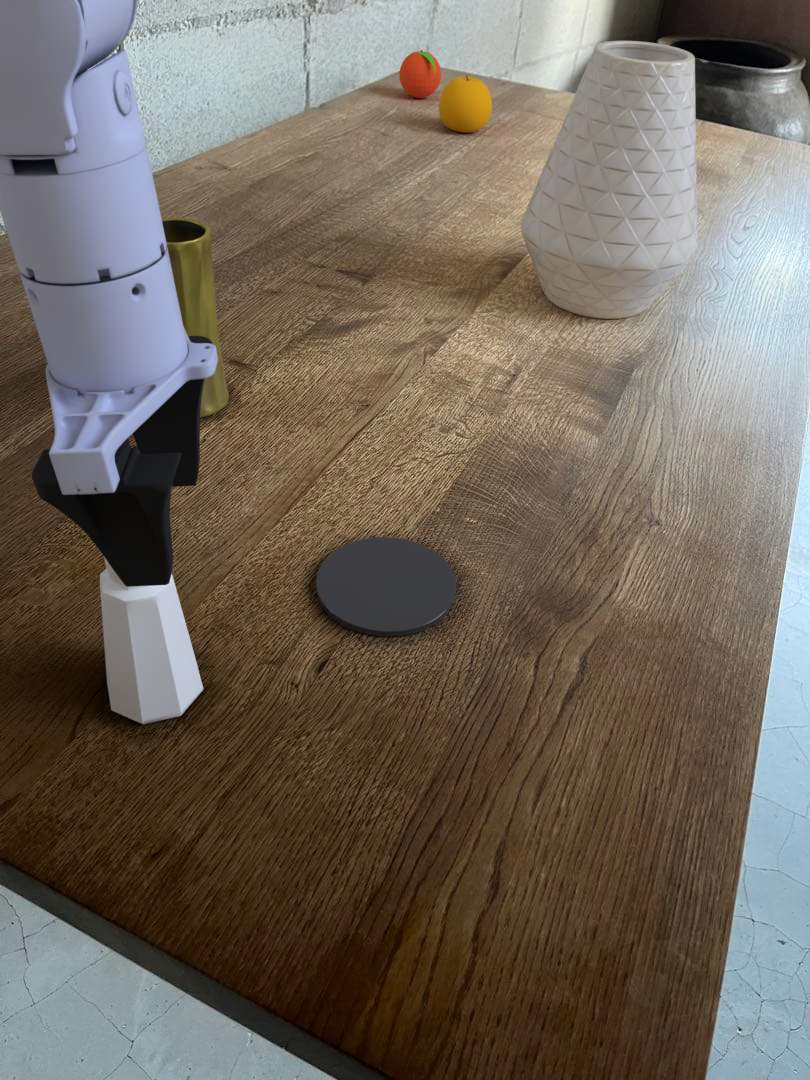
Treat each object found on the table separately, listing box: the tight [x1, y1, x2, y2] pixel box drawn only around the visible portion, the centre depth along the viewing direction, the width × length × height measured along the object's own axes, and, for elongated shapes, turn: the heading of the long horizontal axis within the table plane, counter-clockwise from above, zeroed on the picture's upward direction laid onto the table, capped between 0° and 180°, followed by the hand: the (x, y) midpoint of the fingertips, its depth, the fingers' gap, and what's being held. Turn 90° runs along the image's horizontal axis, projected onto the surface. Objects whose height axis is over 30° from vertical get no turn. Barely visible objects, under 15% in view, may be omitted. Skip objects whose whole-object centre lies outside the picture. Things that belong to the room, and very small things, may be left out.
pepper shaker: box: [99, 556, 204, 725], centre depth 48 cm, size 5×5×11 cm
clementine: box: [398, 49, 442, 99], centre depth 151 cm, size 8×7×7 cm
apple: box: [438, 75, 493, 134], centre depth 138 cm, size 8×8×8 cm
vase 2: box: [520, 40, 699, 320], centre depth 89 cm, size 18×17×23 cm
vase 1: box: [161, 216, 230, 419], centre depth 71 cm, size 6×6×14 cm
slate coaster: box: [315, 536, 457, 638], centre depth 59 cm, size 9×9×1 cm
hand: (163, 528), depth 45 cm, fingers open, 7 cm apart
